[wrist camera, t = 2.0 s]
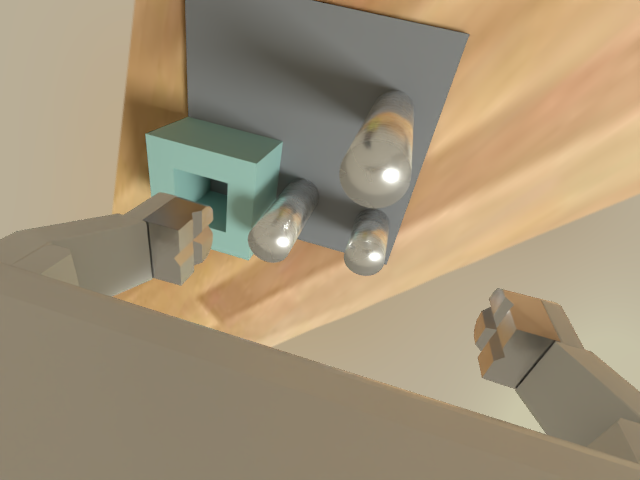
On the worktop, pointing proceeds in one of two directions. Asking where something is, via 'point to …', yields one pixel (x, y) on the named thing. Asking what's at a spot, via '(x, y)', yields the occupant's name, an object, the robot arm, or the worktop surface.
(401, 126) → the long pin
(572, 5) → the worktop surface
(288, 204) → the medium pin
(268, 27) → the mat
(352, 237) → the short pin
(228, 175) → the block
